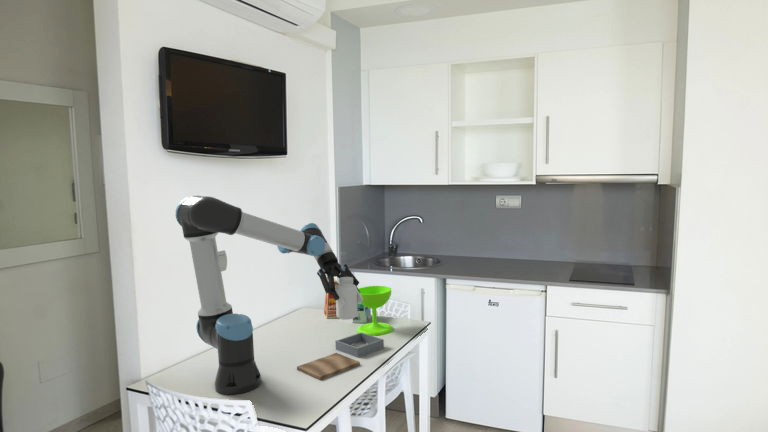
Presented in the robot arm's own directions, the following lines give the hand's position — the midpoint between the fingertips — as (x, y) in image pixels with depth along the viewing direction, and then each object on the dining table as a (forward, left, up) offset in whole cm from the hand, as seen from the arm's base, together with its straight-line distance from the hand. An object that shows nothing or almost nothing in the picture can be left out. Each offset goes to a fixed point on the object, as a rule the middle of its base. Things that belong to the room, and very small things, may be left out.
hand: (352, 303), depth 194 cm
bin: (+8, +6, -21) cm, 23 cm away
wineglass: (+28, +19, -21) cm, 40 cm away
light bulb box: (+34, +35, -21) cm, 53 cm away
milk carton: (+30, +51, -21) cm, 63 cm away
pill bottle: (0, +3, -6) cm, 7 cm away
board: (-12, 0, -21) cm, 24 cm away
